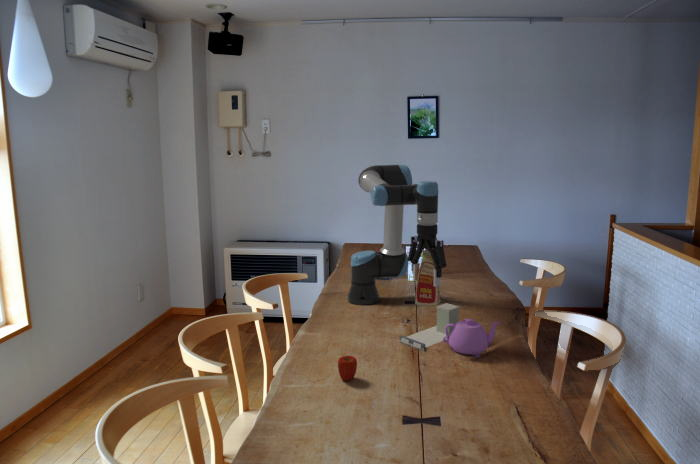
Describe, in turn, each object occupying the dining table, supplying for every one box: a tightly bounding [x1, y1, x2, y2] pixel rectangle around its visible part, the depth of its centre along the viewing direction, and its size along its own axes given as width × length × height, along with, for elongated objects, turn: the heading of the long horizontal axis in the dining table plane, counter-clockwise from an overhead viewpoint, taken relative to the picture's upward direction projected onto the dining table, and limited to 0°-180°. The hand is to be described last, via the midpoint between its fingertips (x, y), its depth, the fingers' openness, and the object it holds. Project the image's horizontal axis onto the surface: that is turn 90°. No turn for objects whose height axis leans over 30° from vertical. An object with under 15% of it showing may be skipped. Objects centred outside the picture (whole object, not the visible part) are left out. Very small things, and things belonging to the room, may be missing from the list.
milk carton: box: [414, 249, 442, 306], centre depth 202 cm, size 9×9×20 cm
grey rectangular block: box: [436, 302, 460, 335], centre depth 211 cm, size 6×6×10 cm
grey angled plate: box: [398, 325, 450, 352], centre depth 207 cm, size 12×24×3 cm, turn 131°
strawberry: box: [337, 355, 358, 382], centre depth 173 cm, size 6×6×8 cm
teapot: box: [442, 317, 501, 359], centre depth 193 cm, size 20×14×12 cm
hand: (426, 283), depth 201 cm, fingers closed on milk carton, 9 cm apart
